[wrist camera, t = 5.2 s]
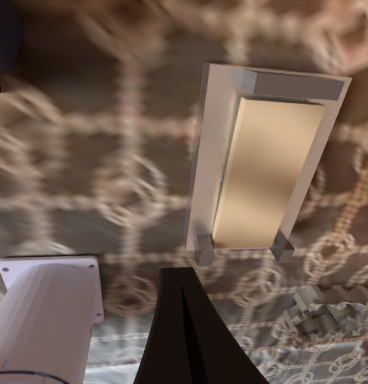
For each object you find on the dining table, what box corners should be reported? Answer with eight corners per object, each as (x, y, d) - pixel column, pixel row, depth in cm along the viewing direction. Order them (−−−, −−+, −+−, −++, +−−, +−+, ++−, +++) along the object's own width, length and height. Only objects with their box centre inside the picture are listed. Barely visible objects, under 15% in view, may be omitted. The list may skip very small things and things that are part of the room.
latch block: (274, 233, 24) (296, 264, 21) (182, 234, 23) (189, 269, 19) (331, 74, 17) (378, 82, 14) (203, 61, 16) (219, 66, 12)
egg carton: (274, 317, 32) (290, 350, 29) (302, 277, 29) (323, 310, 25) (341, 319, 35) (362, 350, 31) (373, 283, 31) (402, 313, 28)
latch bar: (267, 240, 21) (271, 247, 21) (210, 241, 21) (213, 248, 20) (318, 102, 15) (326, 105, 15) (241, 96, 15) (246, 99, 14)
